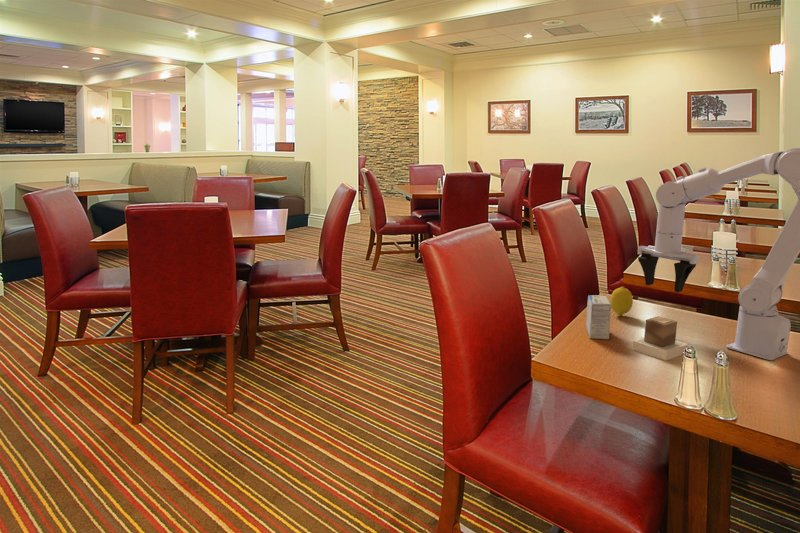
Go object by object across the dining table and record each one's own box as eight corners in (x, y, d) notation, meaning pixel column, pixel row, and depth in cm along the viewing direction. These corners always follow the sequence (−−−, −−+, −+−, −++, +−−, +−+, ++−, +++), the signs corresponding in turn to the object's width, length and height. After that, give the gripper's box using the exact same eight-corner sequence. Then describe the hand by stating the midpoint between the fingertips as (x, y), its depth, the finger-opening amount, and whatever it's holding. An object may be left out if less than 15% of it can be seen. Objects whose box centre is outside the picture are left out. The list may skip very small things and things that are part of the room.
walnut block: (675, 343, 125) (677, 320, 123) (662, 347, 122) (664, 324, 121) (656, 337, 128) (658, 315, 127) (644, 341, 126) (645, 319, 125)
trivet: (686, 355, 125) (687, 344, 124) (665, 362, 120) (666, 351, 120) (653, 344, 131) (654, 333, 131) (631, 351, 127) (632, 340, 126)
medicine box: (609, 340, 133) (612, 304, 131) (589, 338, 134) (591, 303, 132) (604, 329, 140) (606, 295, 138) (585, 328, 141) (587, 294, 139)
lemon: (615, 311, 155) (618, 282, 153) (635, 316, 151) (638, 286, 149) (604, 315, 151) (607, 286, 149) (624, 320, 147) (627, 290, 145)
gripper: (632, 230, 139) (627, 283, 142) (689, 238, 127) (682, 297, 130) (649, 227, 143) (644, 280, 146) (706, 235, 131) (699, 292, 134)
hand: (663, 287), depth 138 cm, fingers open, 7 cm apart
